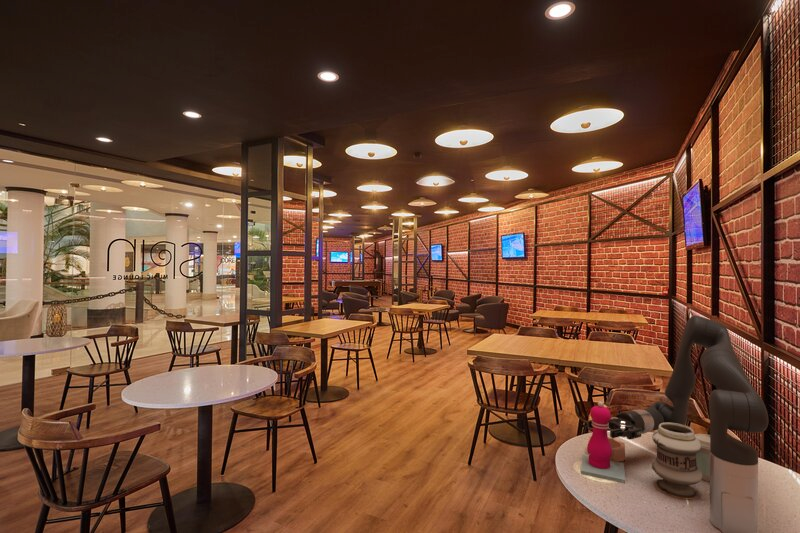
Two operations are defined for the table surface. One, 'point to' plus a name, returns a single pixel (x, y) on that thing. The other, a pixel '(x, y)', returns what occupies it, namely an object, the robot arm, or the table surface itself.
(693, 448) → the apothecary jar
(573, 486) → the table surface
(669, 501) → the table surface
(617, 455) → the holder ring
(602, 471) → the board
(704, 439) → the coffee cup
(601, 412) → the pepper mill
